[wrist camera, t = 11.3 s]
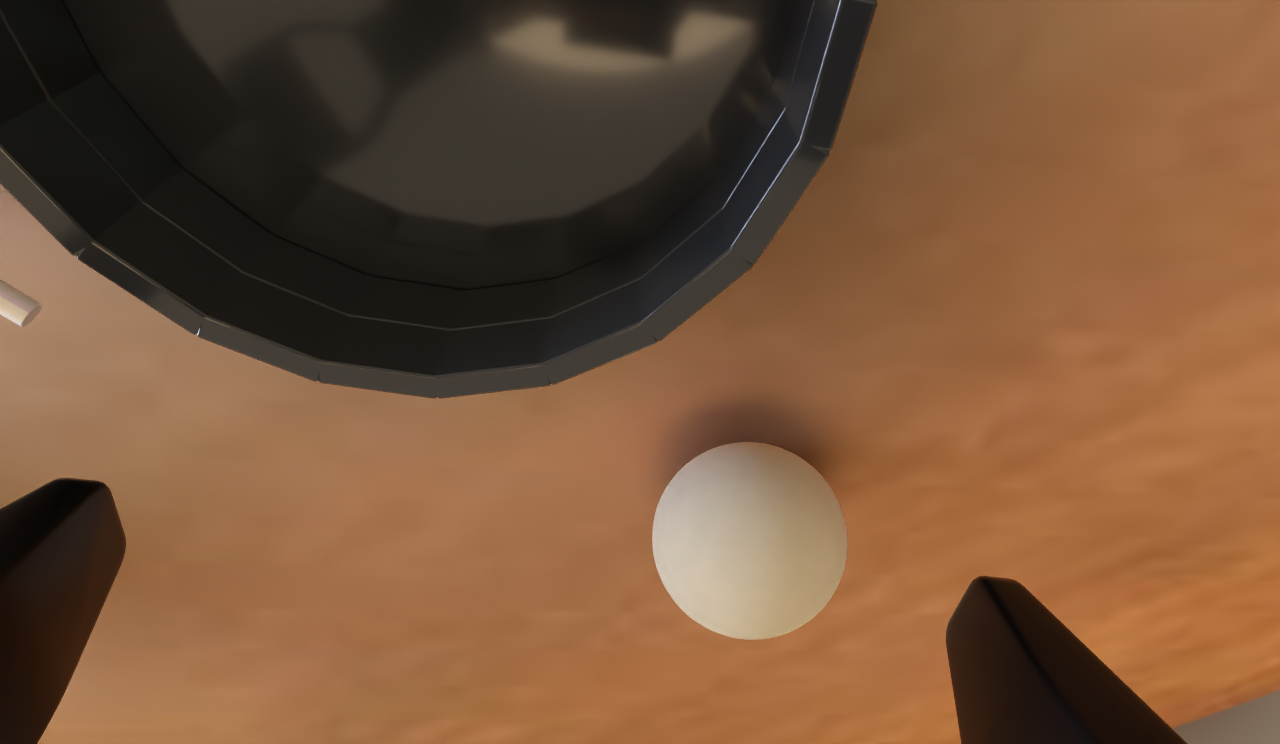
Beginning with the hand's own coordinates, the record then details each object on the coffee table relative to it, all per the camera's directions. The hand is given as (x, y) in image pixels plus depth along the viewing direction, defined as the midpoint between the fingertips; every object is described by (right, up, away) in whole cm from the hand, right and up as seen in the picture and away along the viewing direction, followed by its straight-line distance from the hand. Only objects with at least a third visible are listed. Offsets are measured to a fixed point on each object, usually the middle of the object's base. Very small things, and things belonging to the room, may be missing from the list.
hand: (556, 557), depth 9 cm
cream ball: (+4, -2, +13) cm, 13 cm away
